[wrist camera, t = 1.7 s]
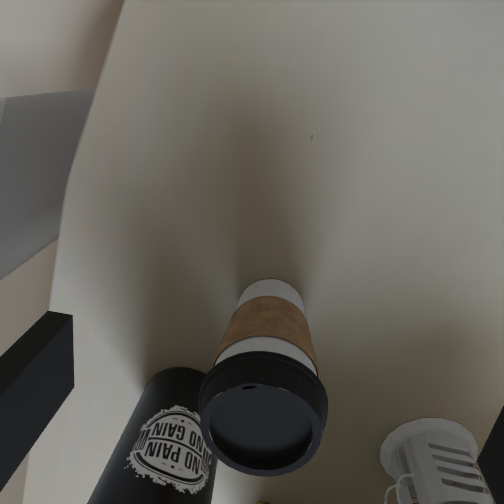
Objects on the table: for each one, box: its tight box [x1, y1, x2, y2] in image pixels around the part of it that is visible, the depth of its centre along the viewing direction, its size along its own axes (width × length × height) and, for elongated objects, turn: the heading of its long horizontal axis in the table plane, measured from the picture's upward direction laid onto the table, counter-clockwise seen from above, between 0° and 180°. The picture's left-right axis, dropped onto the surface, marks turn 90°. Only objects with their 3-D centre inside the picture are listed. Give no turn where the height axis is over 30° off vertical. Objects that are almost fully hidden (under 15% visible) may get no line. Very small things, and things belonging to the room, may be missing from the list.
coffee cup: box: [198, 279, 328, 476], centre depth 33 cm, size 8×8×15 cm
